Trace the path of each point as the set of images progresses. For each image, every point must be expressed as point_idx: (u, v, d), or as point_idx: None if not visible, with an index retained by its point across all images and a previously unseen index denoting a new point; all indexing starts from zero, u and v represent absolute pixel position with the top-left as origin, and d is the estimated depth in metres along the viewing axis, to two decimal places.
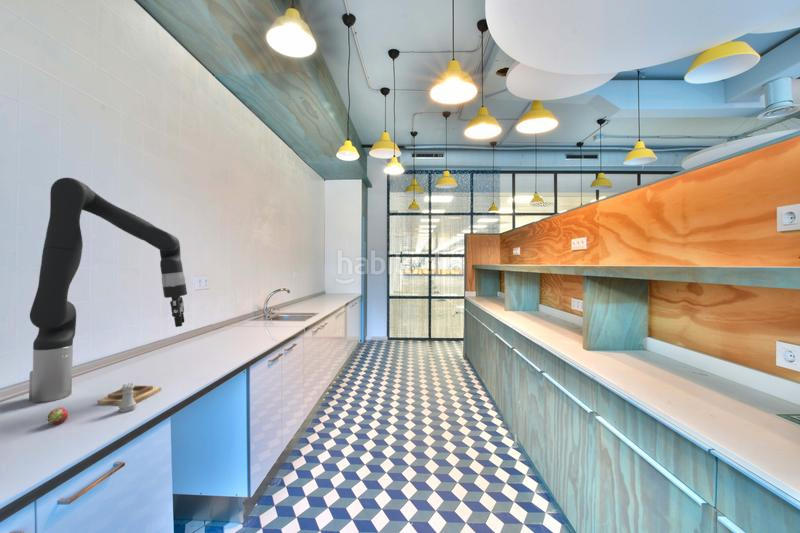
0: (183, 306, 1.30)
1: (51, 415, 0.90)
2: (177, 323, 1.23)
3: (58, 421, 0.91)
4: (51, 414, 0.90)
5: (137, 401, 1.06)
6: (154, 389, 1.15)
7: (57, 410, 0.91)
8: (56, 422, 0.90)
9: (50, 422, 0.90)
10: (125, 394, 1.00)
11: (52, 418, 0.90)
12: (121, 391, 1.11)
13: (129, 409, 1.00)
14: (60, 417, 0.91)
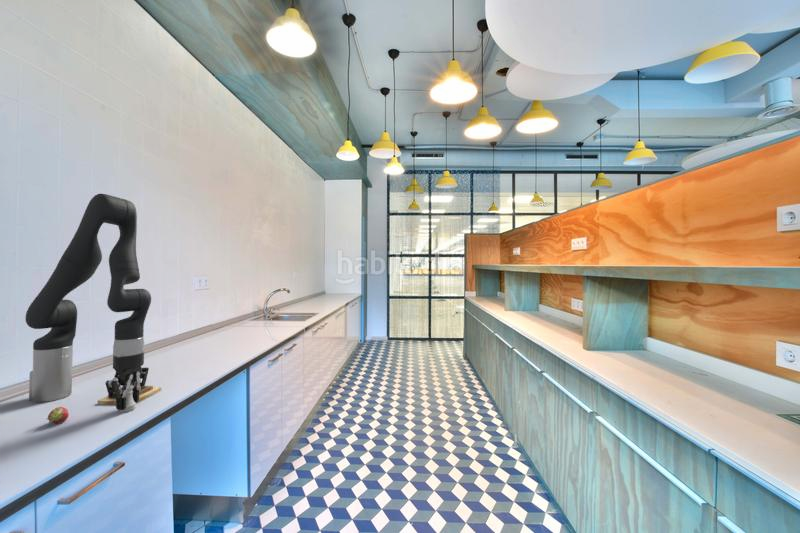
0: (137, 380, 1.03)
1: (51, 414, 0.90)
2: (118, 405, 0.98)
3: (58, 420, 0.91)
4: (51, 413, 0.90)
5: None
6: (154, 389, 1.15)
7: (57, 409, 0.91)
8: (56, 421, 0.91)
9: (50, 421, 0.90)
10: None
11: (52, 417, 0.90)
12: (121, 391, 1.11)
13: (129, 409, 1.00)
14: (61, 417, 0.91)
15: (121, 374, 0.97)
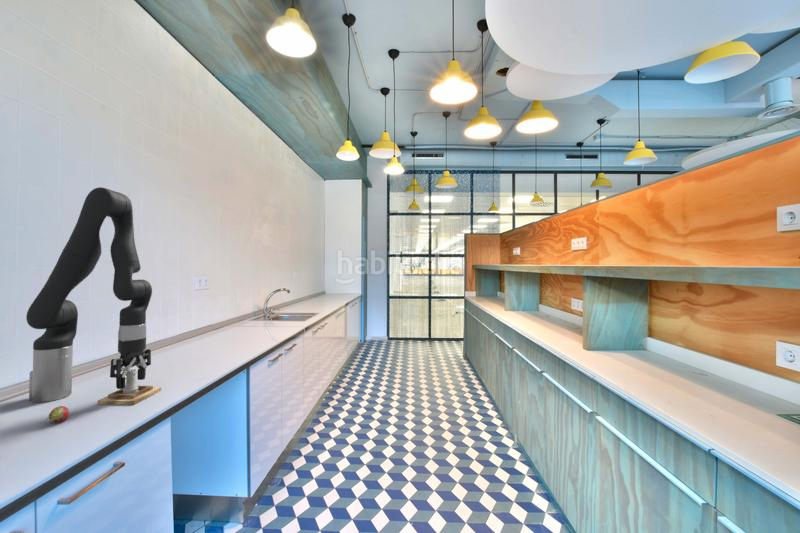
0: (142, 362, 1.13)
1: (52, 413, 0.91)
2: (118, 384, 1.06)
3: (59, 419, 0.91)
4: (52, 412, 0.91)
5: (137, 401, 1.06)
6: (154, 389, 1.15)
7: (58, 409, 0.92)
8: (57, 420, 0.91)
9: (51, 420, 0.90)
10: (128, 379, 1.10)
11: (53, 416, 0.91)
12: (121, 391, 1.11)
13: (132, 393, 1.10)
14: (61, 416, 0.92)
15: (126, 356, 1.08)
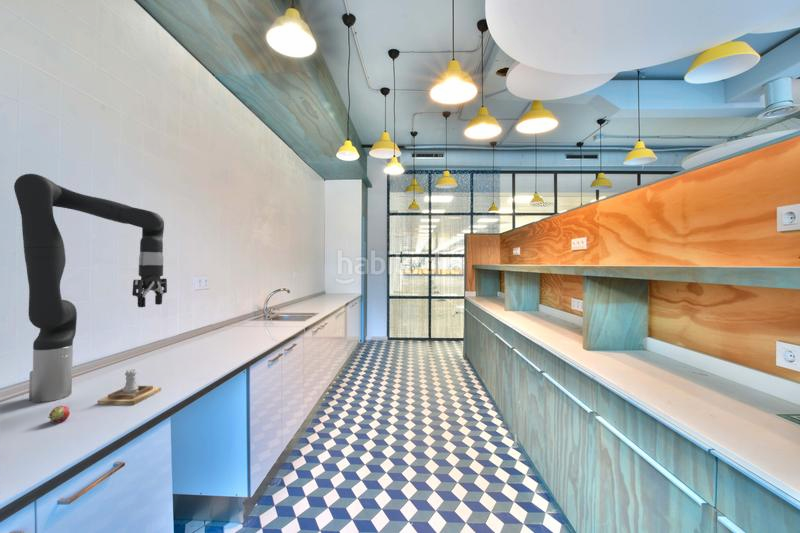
0: (159, 288, 1.26)
1: (53, 413, 0.91)
2: (139, 303, 1.19)
3: (59, 419, 0.92)
4: (53, 412, 0.91)
5: (137, 401, 1.06)
6: (154, 389, 1.15)
7: (59, 408, 0.92)
8: (57, 420, 0.92)
9: (52, 420, 0.91)
10: (128, 379, 1.10)
11: (54, 416, 0.91)
12: (121, 391, 1.11)
13: (132, 393, 1.10)
14: (62, 416, 0.92)
15: (146, 279, 1.21)
